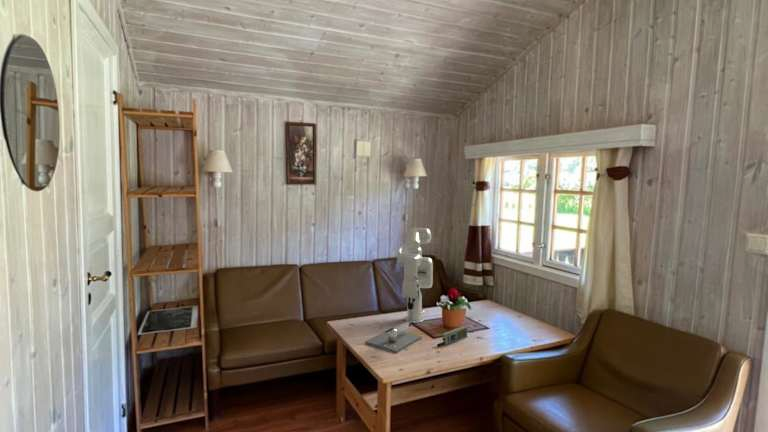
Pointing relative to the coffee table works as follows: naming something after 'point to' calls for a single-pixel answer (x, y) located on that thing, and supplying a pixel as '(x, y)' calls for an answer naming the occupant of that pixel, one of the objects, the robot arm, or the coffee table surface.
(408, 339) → the stand plate
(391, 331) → the bar with ball ends
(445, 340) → the handheld radio
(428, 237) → the robot arm
